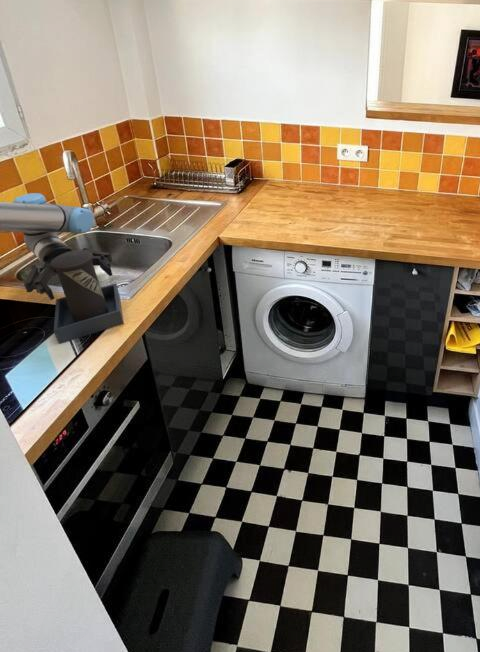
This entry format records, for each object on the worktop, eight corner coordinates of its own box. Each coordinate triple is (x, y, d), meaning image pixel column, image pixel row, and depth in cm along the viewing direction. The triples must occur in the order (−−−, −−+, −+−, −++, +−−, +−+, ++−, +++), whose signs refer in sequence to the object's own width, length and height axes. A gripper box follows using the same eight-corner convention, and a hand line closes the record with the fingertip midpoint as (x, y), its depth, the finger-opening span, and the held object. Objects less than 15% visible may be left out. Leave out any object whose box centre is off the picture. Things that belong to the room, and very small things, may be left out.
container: (97, 327, 105) (77, 265, 96) (64, 326, 105) (41, 264, 96) (116, 306, 113) (99, 247, 104) (85, 305, 113) (65, 246, 104)
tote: (58, 344, 100) (53, 330, 98) (61, 311, 111) (56, 299, 109) (123, 323, 107) (120, 310, 105) (119, 295, 118) (116, 283, 116)
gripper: (104, 248, 124) (134, 274, 113) (5, 283, 107) (28, 318, 95) (98, 228, 121) (128, 251, 109) (-5, 260, 103) (17, 293, 92)
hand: (82, 282), depth 102 cm, fingers open, 13 cm apart
